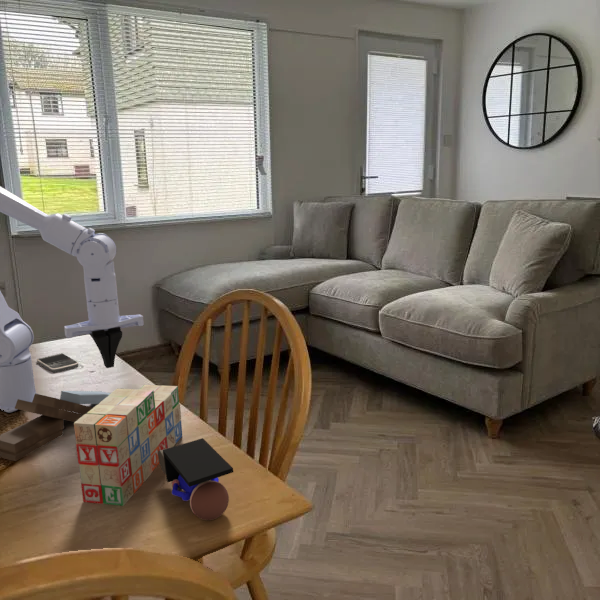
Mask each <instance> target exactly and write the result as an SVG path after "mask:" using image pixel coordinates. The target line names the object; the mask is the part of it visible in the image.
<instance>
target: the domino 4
mask: <svg viewBox="0 0 600 600" xmlns="http://www.w3.org/2000/svg"><path fill="white" fill-rule="evenodd" d="M32 403H37V404H41V405H45V406H49V407H53V408H58V409H62V410H66V411H70V412H74V413H79V414H82V415H85V414H87V413H88V412H89V411H90V410H91V409H93V408H94V406H93V407H92V406H89V405H86V404H77V403H73V402H69V401H65V400H61V399H60V398H56V397H52V396H47V395H43V394H39V393H37V394H35V395H34V398H33V401H32Z"/></svg>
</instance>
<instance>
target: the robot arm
mask: <svg viewBox="0 0 600 600" xmlns="http://www.w3.org/2000/svg"><path fill="white" fill-rule="evenodd" d="M0 213H1V214H4V215H6V216H8V217H10V218H12V219H15V220H16V221H18V222H20V223H23V224H25V225H26V226H29V227H31V228H33V229H35V230H37V231H38V232H39V234H40V236H41V238H42V240H43V241H44V242H46V243H48V244H50V245H52V246H54V247H55V248H57V249H59V250H60V251H63V252H65V253H67V254H69V256H72V257H76V259H77V262H78V263H79V265H81V266H82V269H83V281H84V282H83V283H84V290H85V298H86V299H85V300H86V310H87V316H88V317H87V319H88V320H86V321H82V322H77V323H74V324H73V323H72V324H70V325H64V326H63V328H64V336H65V337H66V338H67V339H71V338H74V337H76V336H77V337H78V336H82V335H90V337H91V338H92V340H93V342H94V343H95V345H96V347H97V349H98V351H99V353H100V355H101V359H102V361H103V366H104V367H105V368H106V369H110V368H115V361H116V360H115V358H116V354H117V350H118V347H119V344H120V342H121V340H122V338H123V331H122V330H121V329H124V328H131V327H137V326H138V327H142V326H144V316H143V315H142V314H140V313H137V314H129V315H120V308H119V307H120V306H119V297H118V287H117V277H116V270H115V261H114V259H115V257H116V255H117V245H116V243H115V241H114V240H113V238H111V237H110V236H108V234H106V233H102V232H99V233H95V232H96V230H95V229H93V227H92V228H91V227H89V228H87V227H85V226H83V225H81V224H80V223H78V222H75V221H73V216H72V215H71V214H70V215H69V214H67V213H63V214H60V213H59V212H58V213H53V214H47V213H46V212H44V211H42V210H40V209H39V208H37V207H35V206H34V205H32V204H30V203H29V202H27V201H25V200H24V199H23V198H20V197H19V196H18V195H15V194H14V193H12V192H11V191H9V190H7V189H6V188H5V187H3V186H1V185H0ZM34 339H35V335H34V331H33V329H32V327H31V326H30V325H29V324H27V322H25V321H24V320H23V319H22V317H21V316H20V313H19V312H17V311H16V310H14V309H13V308H11V307H10V306H9V305H8V303H7V301H6V298H5V296H4V295H3V293H2V290H1V289H0V409H1V410H0V411H3V410H4V411H3V412H6V413H7V414H8V413H13V412H16V411H18V410H19V409H15V406H16V403H17V400H18V399H19V400H23V401H28V402H32V401H33V398H34V395H35V394H38V393H37V391H36V390H37V389H36V384H35V378H34V377H35V376H34V369H33V368H34V367H33V363H32V362H33V361H32V353H31V351H30V347H31V346H32V344H33V343H34Z"/></svg>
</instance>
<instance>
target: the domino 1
mask: <svg viewBox="0 0 600 600" xmlns="http://www.w3.org/2000/svg"><path fill="white" fill-rule="evenodd" d="M15 409H18V410H20V411H22V412H23V411H25V412H28V413H32V414H37V415H39V416H41V415H45V416H49V417H54V418H58V419H63V421H68V422H72V423H74V422H76V421H77V420H78V419H79V418H81V417H82V416H83V414H79V413H75V412H71V411H66V410H62V409H58V408H53V407H49V406H45V405H41V404H37V403H32V402H28V401H23V400H19V399H18V400H17V403H16V406H15Z"/></svg>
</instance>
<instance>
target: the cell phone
mask: <svg viewBox="0 0 600 600" xmlns="http://www.w3.org/2000/svg"><path fill="white" fill-rule="evenodd" d="M36 362H37V364H39V365H41V366H42V367H44V368H45V369H46V370H48V371H50V372H51V373H60V372H63V371H68V370H72V369H74V368H78V366H79V362H78V361H77V360H75V359H73V358H71V357H70V356H68V355H66V354H64V353H56V354H52V355H49V356H44V357H39V358H36Z"/></svg>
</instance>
